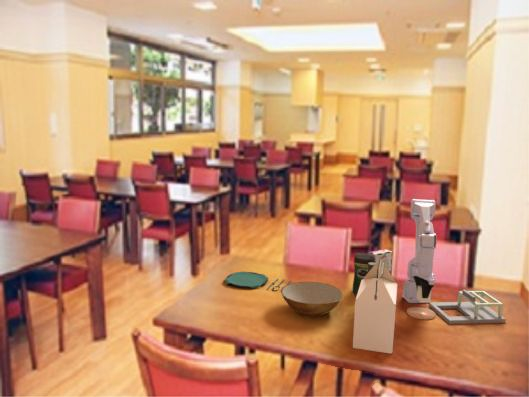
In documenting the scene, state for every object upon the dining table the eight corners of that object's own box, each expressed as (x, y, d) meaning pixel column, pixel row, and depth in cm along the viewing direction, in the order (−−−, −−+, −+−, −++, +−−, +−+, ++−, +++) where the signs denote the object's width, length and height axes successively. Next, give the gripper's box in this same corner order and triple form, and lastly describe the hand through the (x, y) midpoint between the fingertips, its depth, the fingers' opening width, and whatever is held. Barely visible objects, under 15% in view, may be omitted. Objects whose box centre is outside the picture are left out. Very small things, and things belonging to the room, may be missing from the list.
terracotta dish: (413, 320, 191) (413, 318, 191) (402, 308, 202) (402, 307, 202) (440, 319, 192) (440, 317, 192) (428, 308, 203) (428, 306, 203)
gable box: (392, 354, 163) (398, 274, 158) (352, 348, 167) (357, 270, 162) (394, 327, 184) (399, 256, 179) (358, 322, 188) (363, 252, 183)
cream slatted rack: (475, 317, 191) (476, 299, 190) (457, 303, 205) (458, 287, 203) (501, 316, 192) (503, 299, 191) (482, 302, 206) (483, 286, 205)
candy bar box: (383, 281, 234) (385, 248, 232) (390, 284, 230) (393, 251, 227) (365, 285, 229) (367, 251, 226) (372, 288, 225) (375, 254, 222)
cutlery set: (235, 273, 242) (235, 268, 242) (293, 282, 232) (293, 277, 232) (218, 286, 224) (218, 281, 223) (280, 297, 214) (281, 292, 214)
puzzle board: (449, 324, 188) (449, 320, 188) (428, 305, 206) (429, 302, 205) (505, 322, 190) (505, 319, 190) (480, 304, 208) (480, 301, 208)
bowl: (349, 305, 204) (350, 287, 203) (331, 329, 181) (332, 308, 180) (293, 295, 214) (294, 277, 213) (270, 316, 192) (270, 296, 190)
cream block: (420, 302, 194) (422, 289, 193) (416, 298, 198) (417, 285, 197) (430, 302, 194) (431, 289, 193) (426, 298, 198) (427, 285, 197)
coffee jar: (375, 292, 219) (377, 252, 216) (372, 298, 212) (375, 257, 209) (353, 289, 223) (355, 250, 220) (350, 295, 216) (352, 254, 212)
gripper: (443, 269, 187) (440, 302, 189) (426, 257, 201) (424, 289, 203) (425, 269, 186) (423, 302, 188) (410, 258, 200) (408, 289, 202)
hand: (422, 295), depth 196 cm, fingers closed on cream block, 4 cm apart
